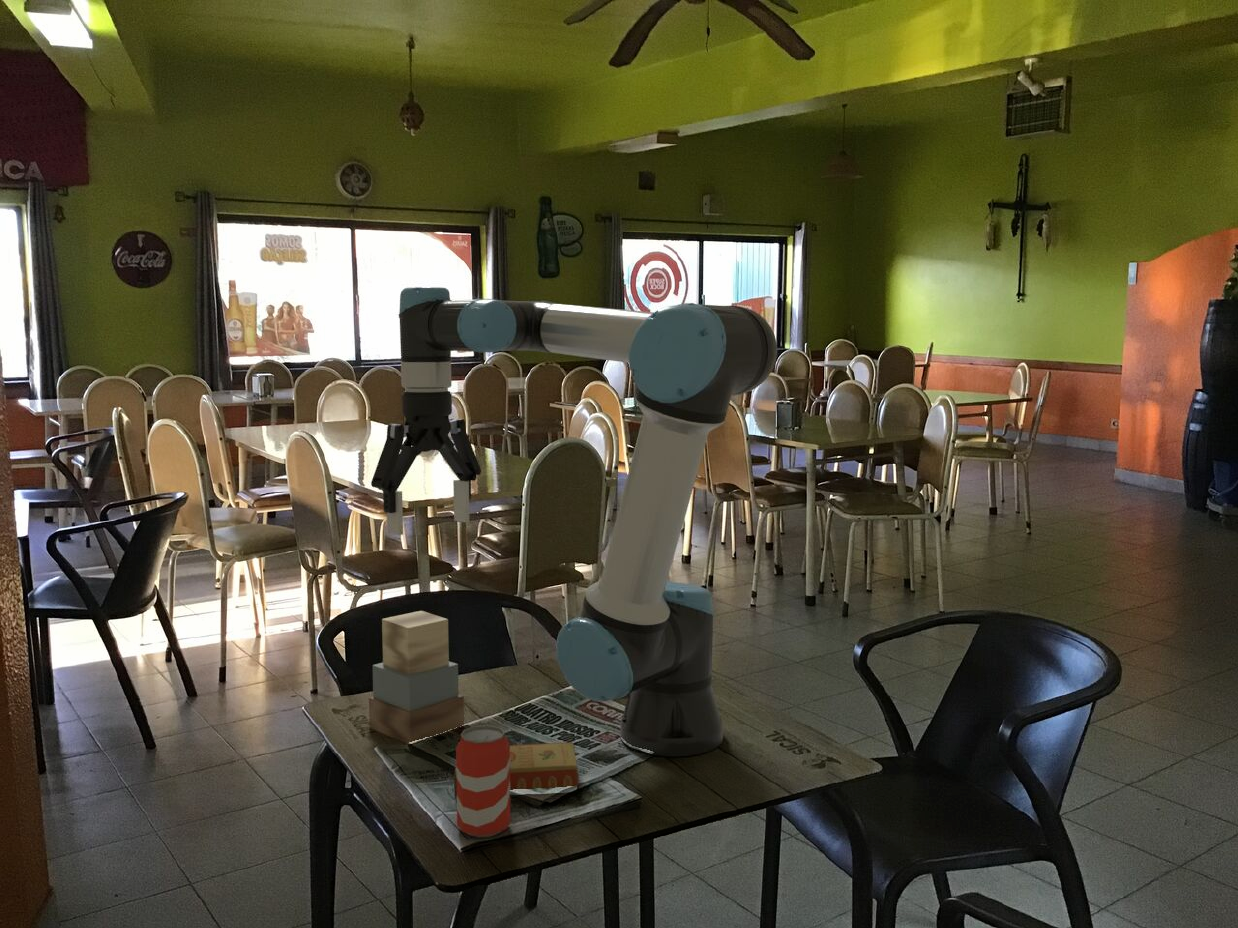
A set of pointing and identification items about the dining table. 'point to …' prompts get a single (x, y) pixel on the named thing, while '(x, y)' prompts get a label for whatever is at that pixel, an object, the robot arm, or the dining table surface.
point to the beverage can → (483, 781)
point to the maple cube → (415, 642)
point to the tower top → (415, 686)
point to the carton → (541, 766)
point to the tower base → (416, 719)
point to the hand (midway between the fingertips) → (429, 527)
